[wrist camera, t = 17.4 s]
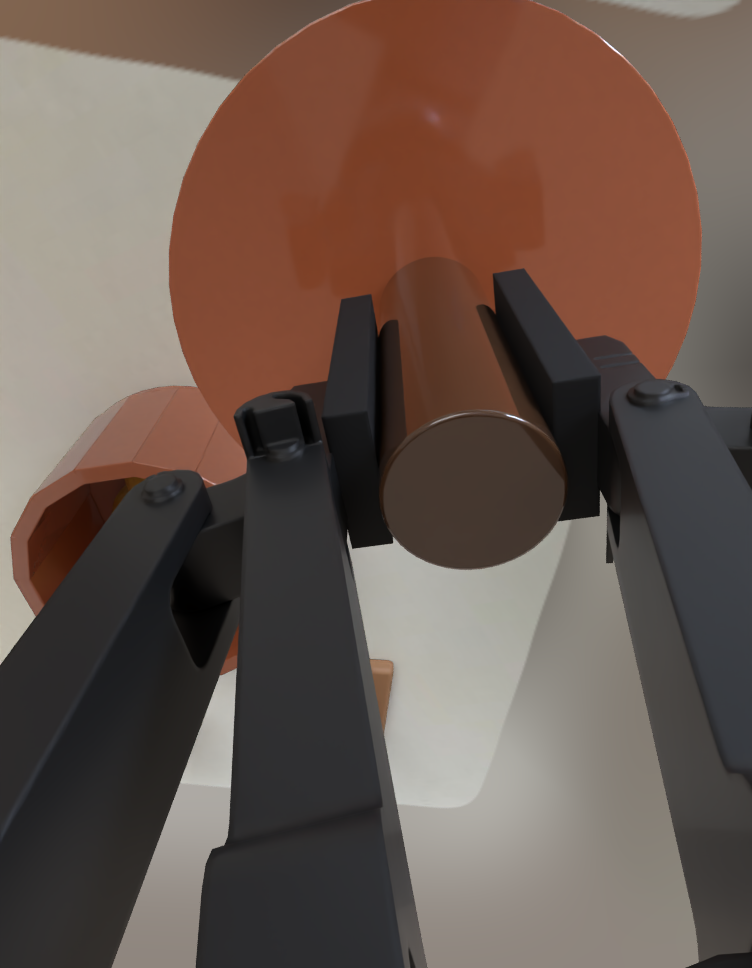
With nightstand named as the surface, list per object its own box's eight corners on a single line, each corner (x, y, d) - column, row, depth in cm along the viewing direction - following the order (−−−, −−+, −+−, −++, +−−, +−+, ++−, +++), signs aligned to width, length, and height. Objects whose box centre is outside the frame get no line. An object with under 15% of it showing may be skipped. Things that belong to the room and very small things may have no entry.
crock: (40, 405, 37) (-43, 487, 30) (278, 367, 36) (253, 443, 28) (128, 589, 44) (79, 691, 37) (330, 563, 43) (319, 664, 35)
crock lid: (99, 57, 16) (-248, 43, 7) (709, -71, 15) (1211, -284, 6) (254, 529, 24) (179, 809, 15) (668, 472, 23) (861, 742, 14)
